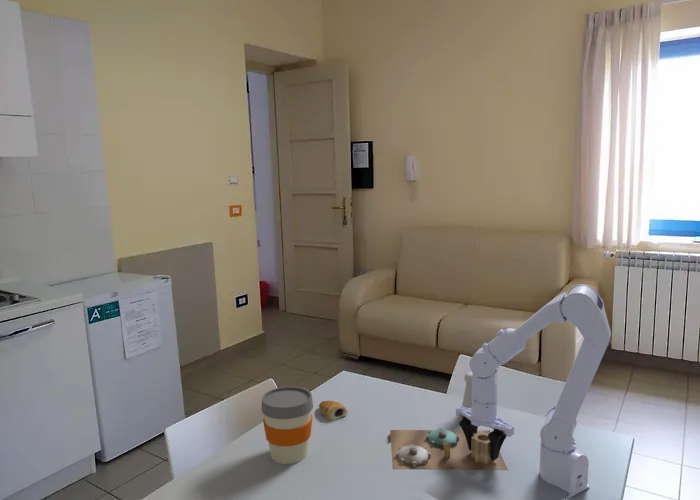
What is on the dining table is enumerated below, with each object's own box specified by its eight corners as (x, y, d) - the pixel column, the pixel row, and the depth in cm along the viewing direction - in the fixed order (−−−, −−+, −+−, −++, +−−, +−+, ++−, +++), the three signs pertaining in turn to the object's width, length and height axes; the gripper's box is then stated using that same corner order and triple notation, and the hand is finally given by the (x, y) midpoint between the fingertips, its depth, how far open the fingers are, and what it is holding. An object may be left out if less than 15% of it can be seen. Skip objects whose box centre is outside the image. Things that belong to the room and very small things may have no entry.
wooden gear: (499, 457, 121) (500, 437, 120) (486, 466, 117) (487, 446, 117) (479, 448, 125) (480, 429, 124) (466, 457, 121) (466, 437, 121)
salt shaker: (480, 413, 146) (481, 369, 144) (484, 422, 140) (485, 377, 139) (460, 412, 147) (460, 369, 145) (462, 422, 141) (463, 377, 139)
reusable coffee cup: (321, 444, 131) (319, 388, 129) (304, 471, 119) (302, 410, 117) (276, 438, 134) (273, 383, 132) (254, 464, 122) (251, 405, 120)
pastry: (313, 410, 150) (313, 398, 150) (332, 404, 154) (332, 392, 153) (330, 423, 142) (330, 410, 142) (350, 416, 146) (350, 403, 146)
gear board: (489, 434, 134) (490, 417, 133) (507, 474, 116) (508, 455, 116) (390, 434, 135) (390, 417, 135) (393, 473, 117) (392, 454, 117)
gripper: (448, 394, 122) (447, 448, 124) (502, 415, 111) (501, 472, 113) (465, 386, 126) (465, 437, 128) (519, 404, 116) (517, 460, 118)
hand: (483, 453), depth 121 cm, fingers closed on wooden gear, 5 cm apart
